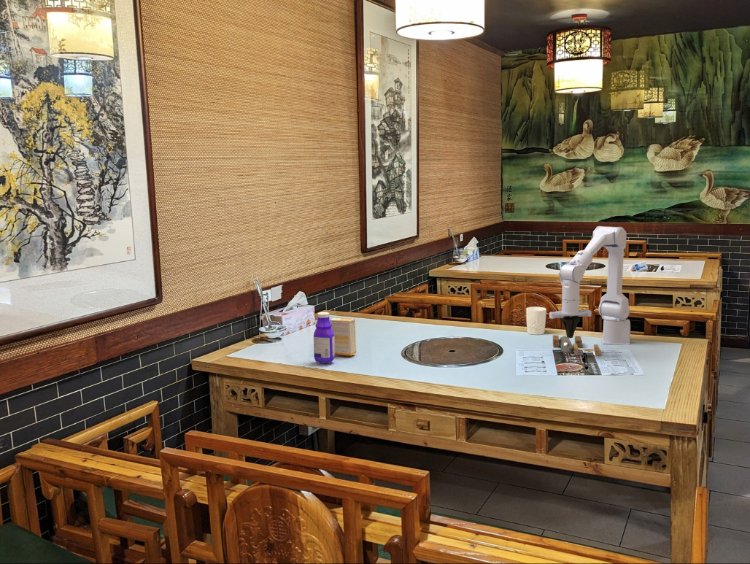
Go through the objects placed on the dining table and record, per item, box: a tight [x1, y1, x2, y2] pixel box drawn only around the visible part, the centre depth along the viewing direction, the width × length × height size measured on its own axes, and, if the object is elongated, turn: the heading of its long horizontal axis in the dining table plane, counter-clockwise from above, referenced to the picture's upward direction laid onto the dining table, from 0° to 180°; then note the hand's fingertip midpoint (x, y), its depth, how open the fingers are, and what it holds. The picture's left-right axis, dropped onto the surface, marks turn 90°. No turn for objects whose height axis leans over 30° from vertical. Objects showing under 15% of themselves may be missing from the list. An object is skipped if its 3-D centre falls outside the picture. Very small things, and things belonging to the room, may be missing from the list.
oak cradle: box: [572, 343, 601, 357], centre depth 238 cm, size 9×9×3 cm
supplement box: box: [330, 316, 357, 357], centre depth 245 cm, size 8×5×13 cm, turn 65°
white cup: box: [525, 306, 547, 336], centre depth 270 cm, size 8×8×10 cm
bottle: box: [313, 311, 336, 364], centre depth 235 cm, size 7×6×17 cm
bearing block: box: [552, 334, 583, 349], centre depth 249 cm, size 10×7×3 cm
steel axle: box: [559, 335, 574, 354], centre depth 243 cm, size 12×4×4 cm, turn 170°
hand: (569, 337), depth 235 cm, fingers closed
